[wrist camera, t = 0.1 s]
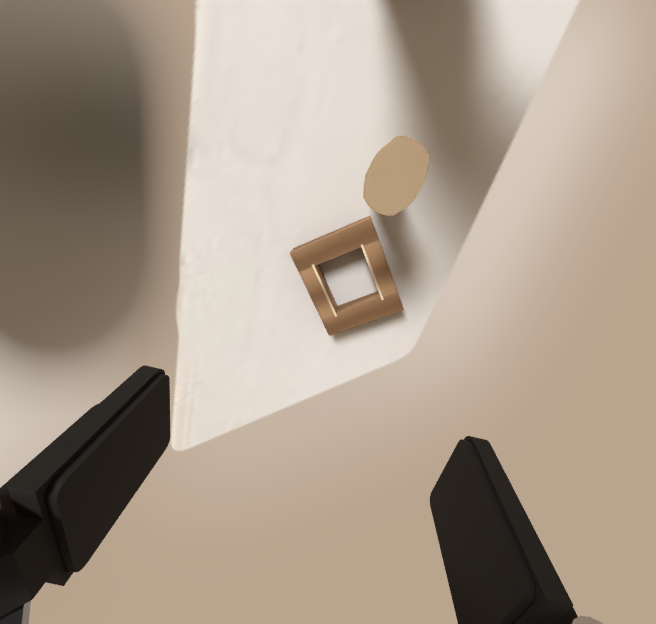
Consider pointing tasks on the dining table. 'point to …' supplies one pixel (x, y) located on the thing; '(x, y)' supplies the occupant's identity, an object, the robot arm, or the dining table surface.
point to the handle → (396, 175)
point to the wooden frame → (319, 291)
